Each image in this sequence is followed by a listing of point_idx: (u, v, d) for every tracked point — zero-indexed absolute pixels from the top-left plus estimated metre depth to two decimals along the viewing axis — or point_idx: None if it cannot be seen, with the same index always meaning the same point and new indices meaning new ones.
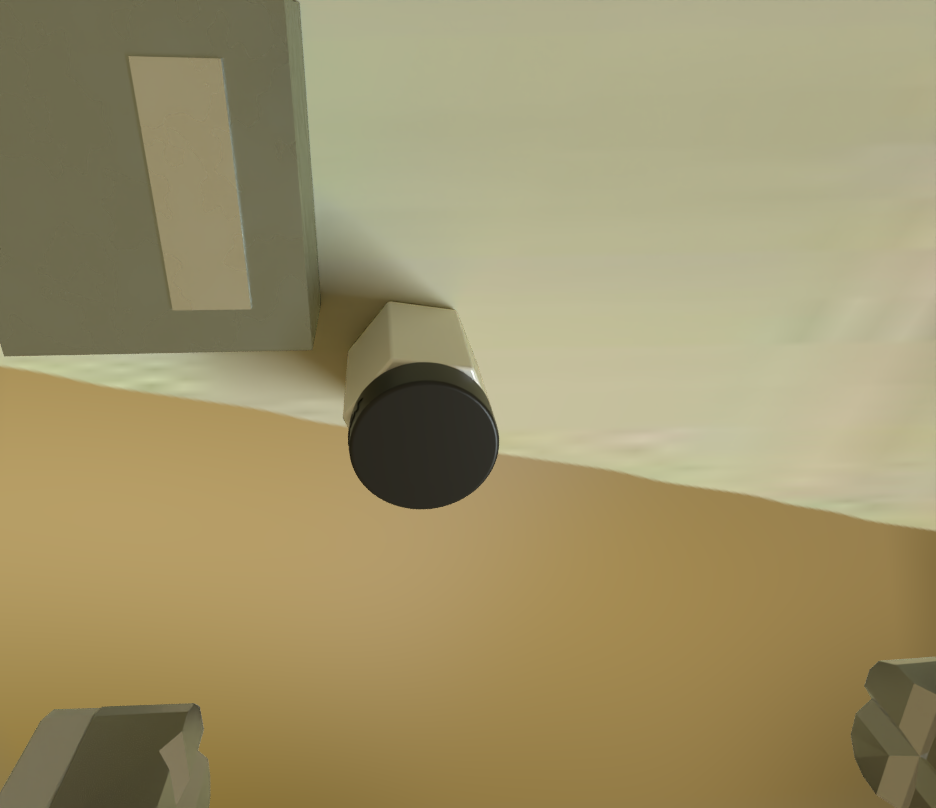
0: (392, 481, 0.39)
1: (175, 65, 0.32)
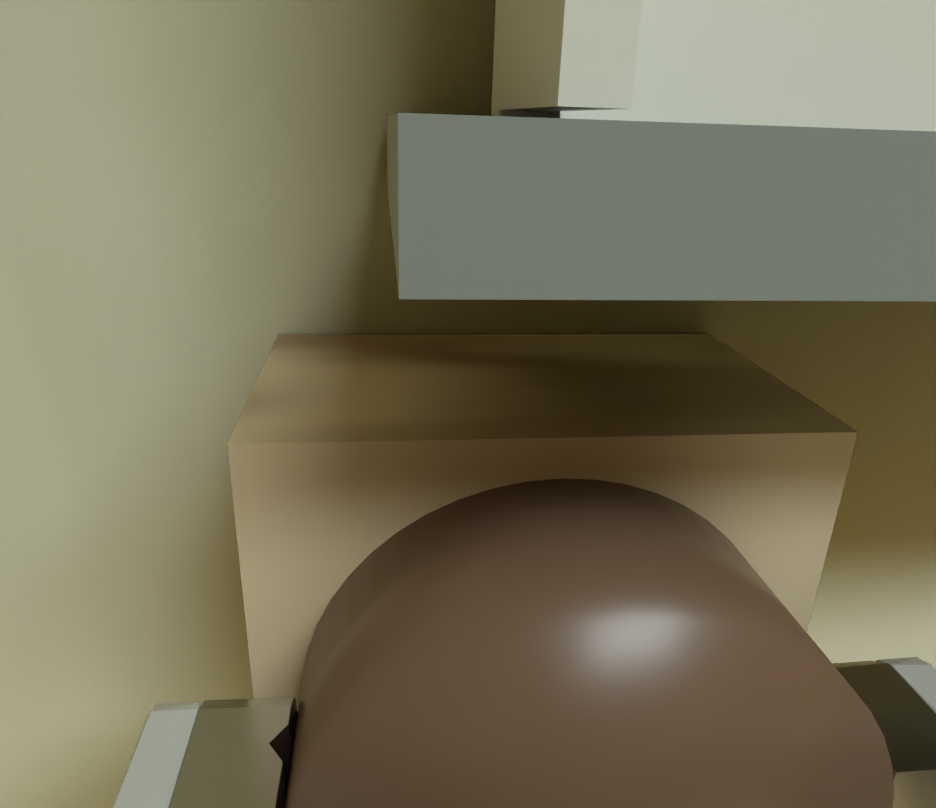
0: None
1: None
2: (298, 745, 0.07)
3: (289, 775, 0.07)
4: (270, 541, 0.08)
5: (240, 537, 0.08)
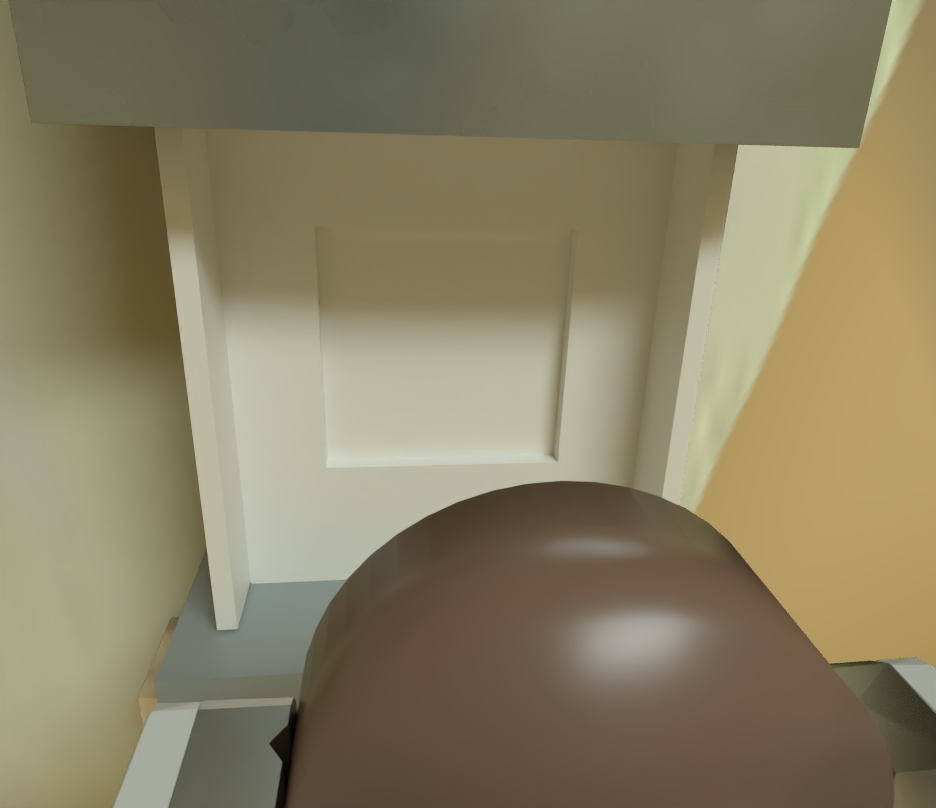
0: None
1: None
2: (297, 748, 0.07)
3: (288, 778, 0.07)
4: None
5: (143, 724, 0.23)
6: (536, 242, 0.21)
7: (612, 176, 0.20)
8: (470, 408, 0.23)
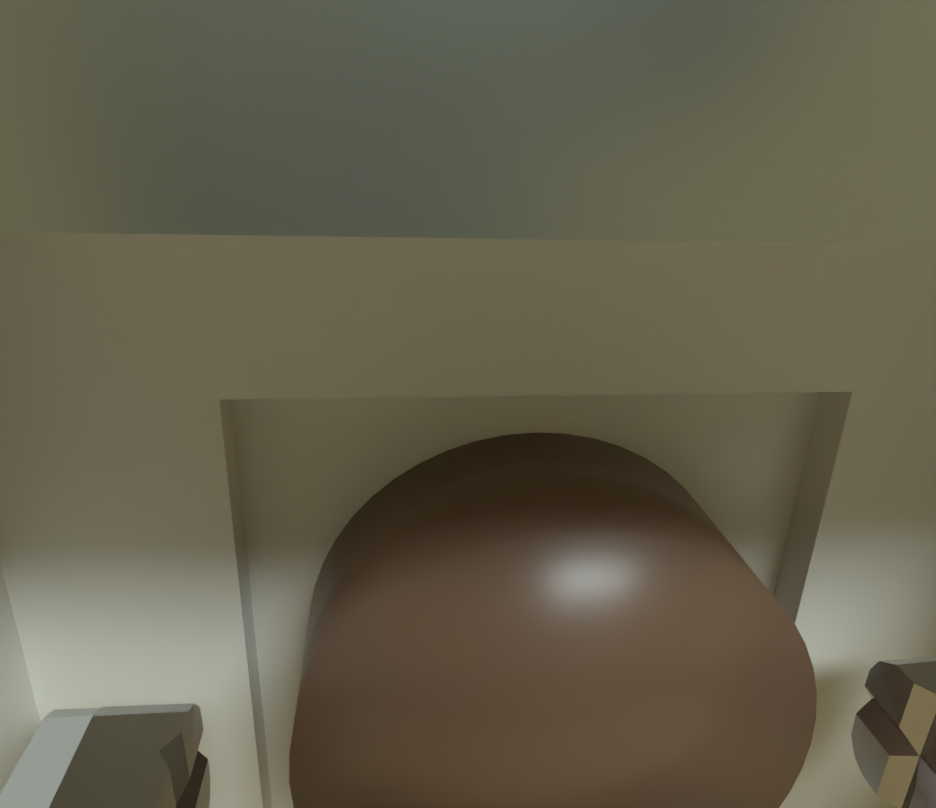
0: None
1: None
2: (308, 653, 0.08)
3: (300, 681, 0.08)
4: None
5: None
6: (739, 410, 0.09)
7: None
8: None
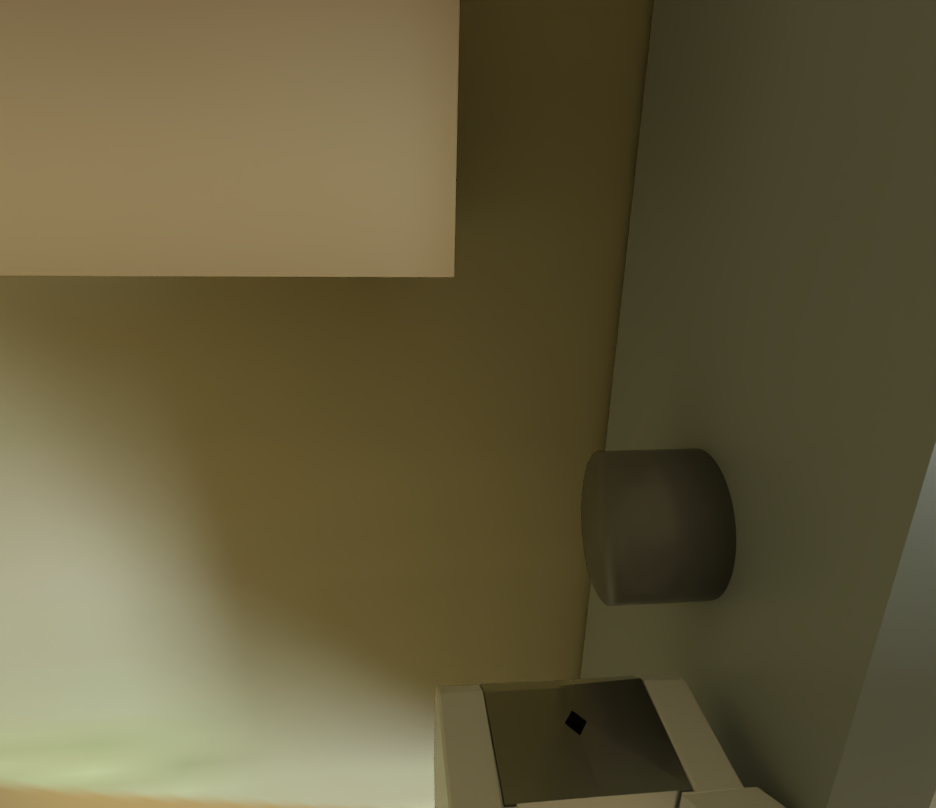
0: None
1: None
2: None
3: None
4: None
5: None
6: None
7: None
8: None
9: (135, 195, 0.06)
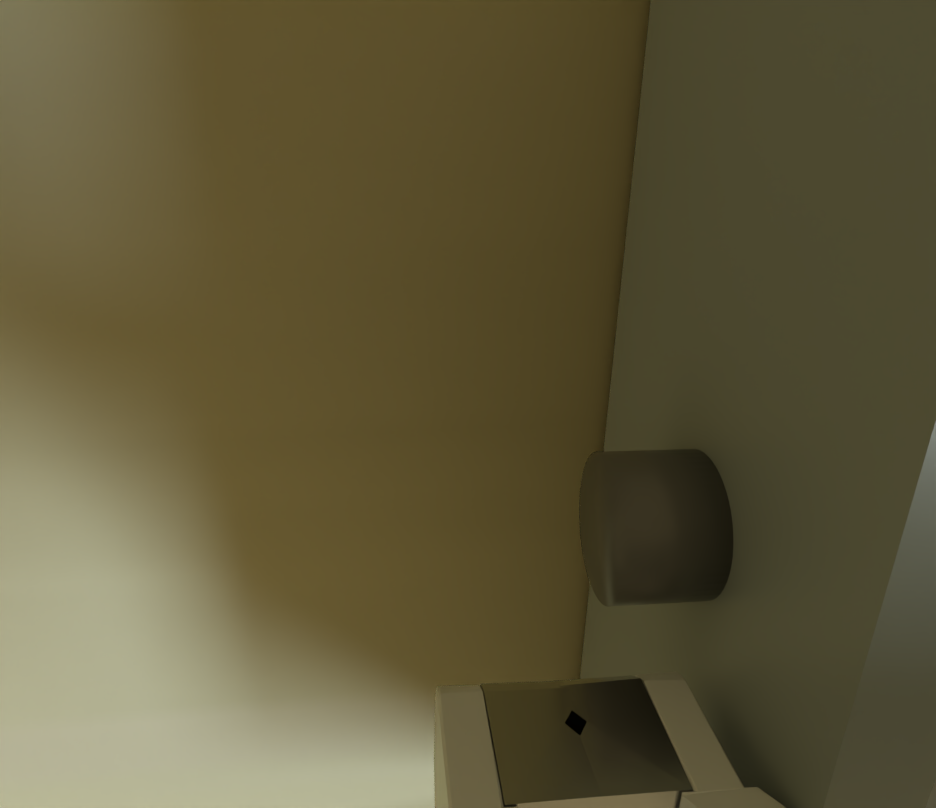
0: None
1: None
2: None
3: None
4: None
5: None
6: None
7: None
8: None
9: None
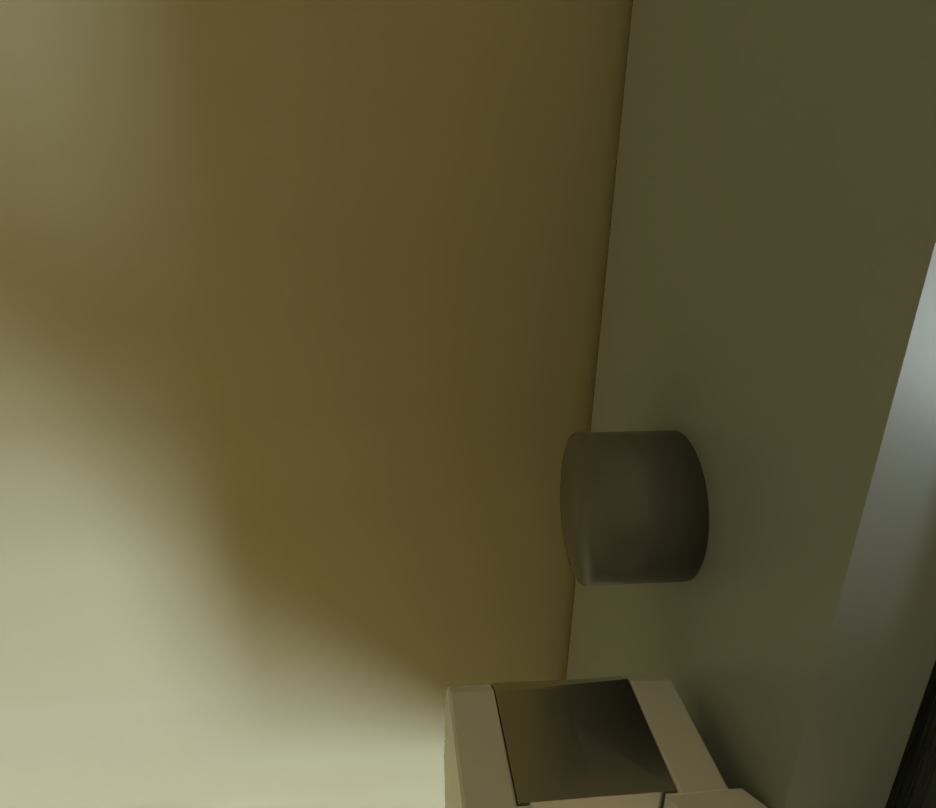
0: None
1: None
2: None
3: None
4: None
5: None
6: None
7: None
8: None
9: None
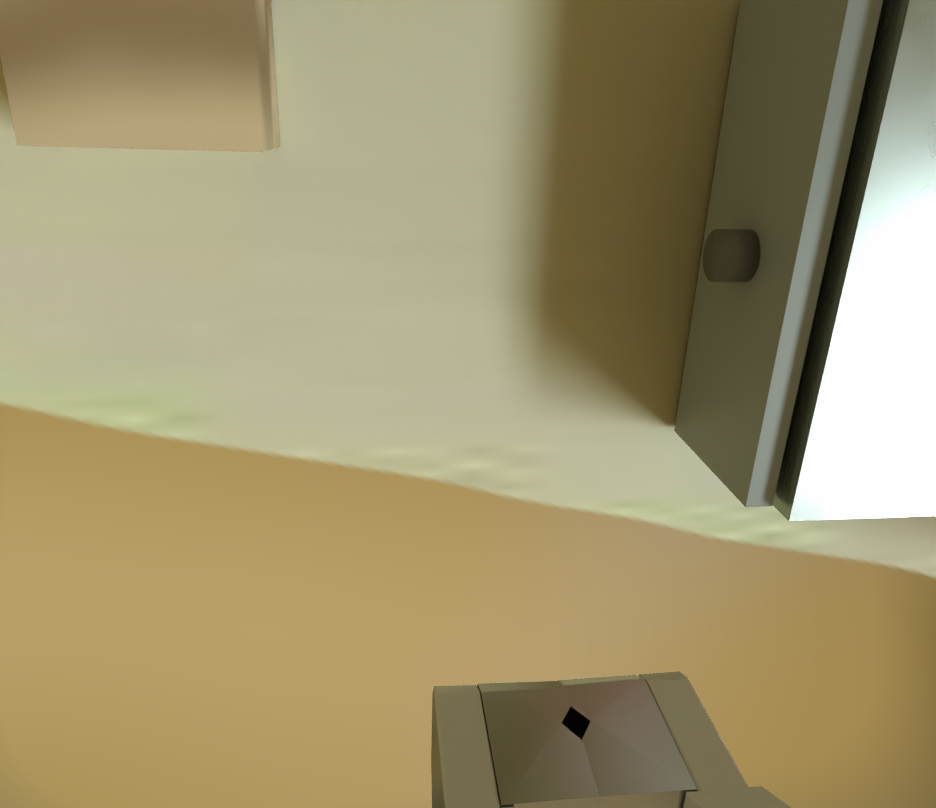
0: None
1: None
2: None
3: None
4: None
5: None
6: None
7: None
8: None
9: (162, 123, 0.21)
